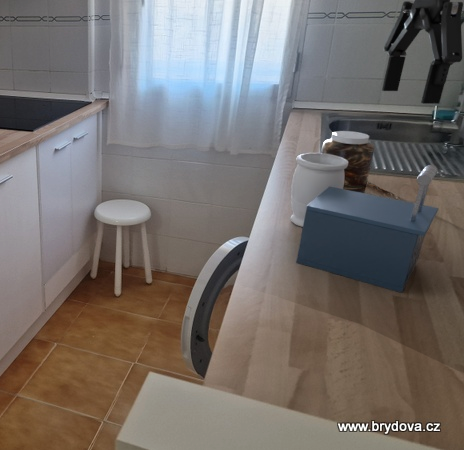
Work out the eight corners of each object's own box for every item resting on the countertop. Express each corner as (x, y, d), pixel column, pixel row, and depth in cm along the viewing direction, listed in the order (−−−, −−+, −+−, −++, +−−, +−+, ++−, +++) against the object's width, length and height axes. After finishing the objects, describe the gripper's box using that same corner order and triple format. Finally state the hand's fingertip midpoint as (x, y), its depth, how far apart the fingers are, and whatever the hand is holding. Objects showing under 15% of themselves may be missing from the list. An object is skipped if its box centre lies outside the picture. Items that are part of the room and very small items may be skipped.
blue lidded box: (416, 264, 104) (431, 211, 99) (401, 292, 94) (418, 235, 90) (318, 239, 114) (328, 190, 110) (296, 262, 105) (306, 209, 100)
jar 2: (330, 180, 150) (341, 127, 144) (372, 192, 141) (386, 136, 135) (305, 188, 143) (315, 133, 138) (347, 201, 135) (360, 142, 129)
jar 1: (331, 235, 116) (345, 168, 110) (281, 225, 121) (292, 161, 115) (337, 219, 124) (351, 156, 118) (290, 210, 129) (301, 149, 123)
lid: (437, 212, 99) (451, 163, 95) (424, 236, 89) (439, 183, 85) (328, 190, 110) (337, 145, 106) (306, 209, 100) (315, 161, 96)
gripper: (379, -26, 104) (357, 86, 113) (463, -33, 81) (427, 109, 90) (419, -27, 104) (393, 86, 112) (514, -33, 81) (473, 109, 89)
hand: (408, 96), depth 101 cm, fingers open, 13 cm apart
